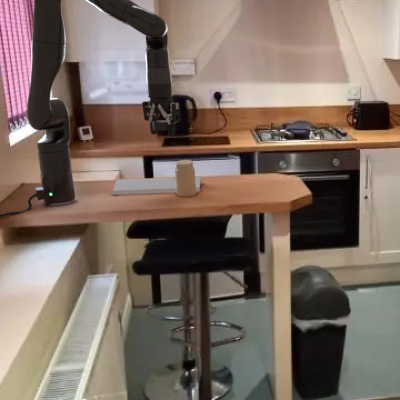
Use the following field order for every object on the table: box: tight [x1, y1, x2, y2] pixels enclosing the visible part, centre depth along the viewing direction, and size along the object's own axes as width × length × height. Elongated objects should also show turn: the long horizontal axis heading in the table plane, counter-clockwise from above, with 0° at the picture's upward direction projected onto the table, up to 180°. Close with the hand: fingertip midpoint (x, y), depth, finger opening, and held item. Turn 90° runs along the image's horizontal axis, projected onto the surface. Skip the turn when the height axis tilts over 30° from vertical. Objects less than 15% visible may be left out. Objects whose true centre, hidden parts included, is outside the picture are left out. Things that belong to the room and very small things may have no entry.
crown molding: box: [112, 176, 203, 196], centre depth 209 cm, size 29×12×4 cm, turn 97°
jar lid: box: [152, 119, 169, 131], centre depth 189 cm, size 7×7×2 cm
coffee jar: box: [174, 159, 197, 197], centre depth 200 cm, size 6×6×11 cm
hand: (163, 135), depth 190 cm, fingers closed on jar lid, 6 cm apart
